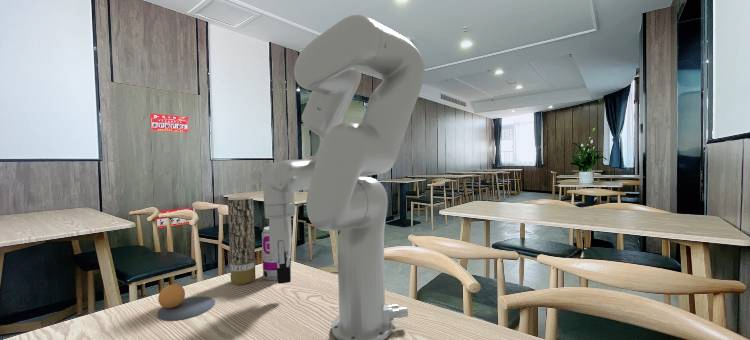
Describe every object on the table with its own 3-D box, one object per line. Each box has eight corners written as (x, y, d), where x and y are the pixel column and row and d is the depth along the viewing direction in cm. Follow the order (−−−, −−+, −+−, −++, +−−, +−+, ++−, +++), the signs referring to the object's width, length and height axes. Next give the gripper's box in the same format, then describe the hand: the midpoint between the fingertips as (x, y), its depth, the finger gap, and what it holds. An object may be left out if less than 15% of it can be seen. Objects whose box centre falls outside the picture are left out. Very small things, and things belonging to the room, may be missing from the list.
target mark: (220, 294, 84) (220, 294, 84) (207, 316, 72) (207, 315, 72) (169, 300, 81) (169, 299, 81) (147, 324, 69) (147, 323, 69)
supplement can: (283, 281, 92) (281, 230, 92) (257, 280, 94) (256, 230, 93) (295, 271, 100) (294, 224, 100) (271, 270, 102) (270, 224, 101)
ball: (160, 293, 79) (178, 305, 80) (148, 303, 74) (168, 317, 75) (175, 276, 79) (193, 289, 80) (164, 285, 74) (184, 299, 75)
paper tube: (239, 276, 97) (236, 195, 96) (259, 277, 96) (257, 195, 95) (225, 285, 90) (222, 198, 89) (247, 286, 89) (245, 198, 88)
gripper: (267, 208, 87) (271, 275, 87) (261, 215, 73) (266, 295, 73) (295, 206, 89) (299, 271, 89) (294, 212, 75) (299, 290, 75)
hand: (284, 281), depth 81 cm, fingers closed
